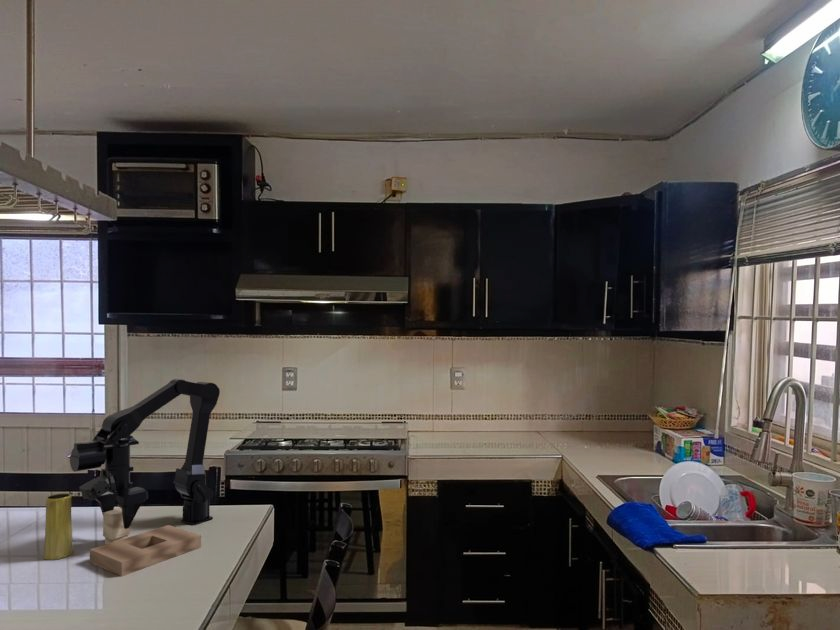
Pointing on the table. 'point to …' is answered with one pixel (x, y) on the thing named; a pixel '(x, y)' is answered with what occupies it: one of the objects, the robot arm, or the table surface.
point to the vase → (58, 527)
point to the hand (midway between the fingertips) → (116, 525)
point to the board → (144, 549)
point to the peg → (114, 526)
